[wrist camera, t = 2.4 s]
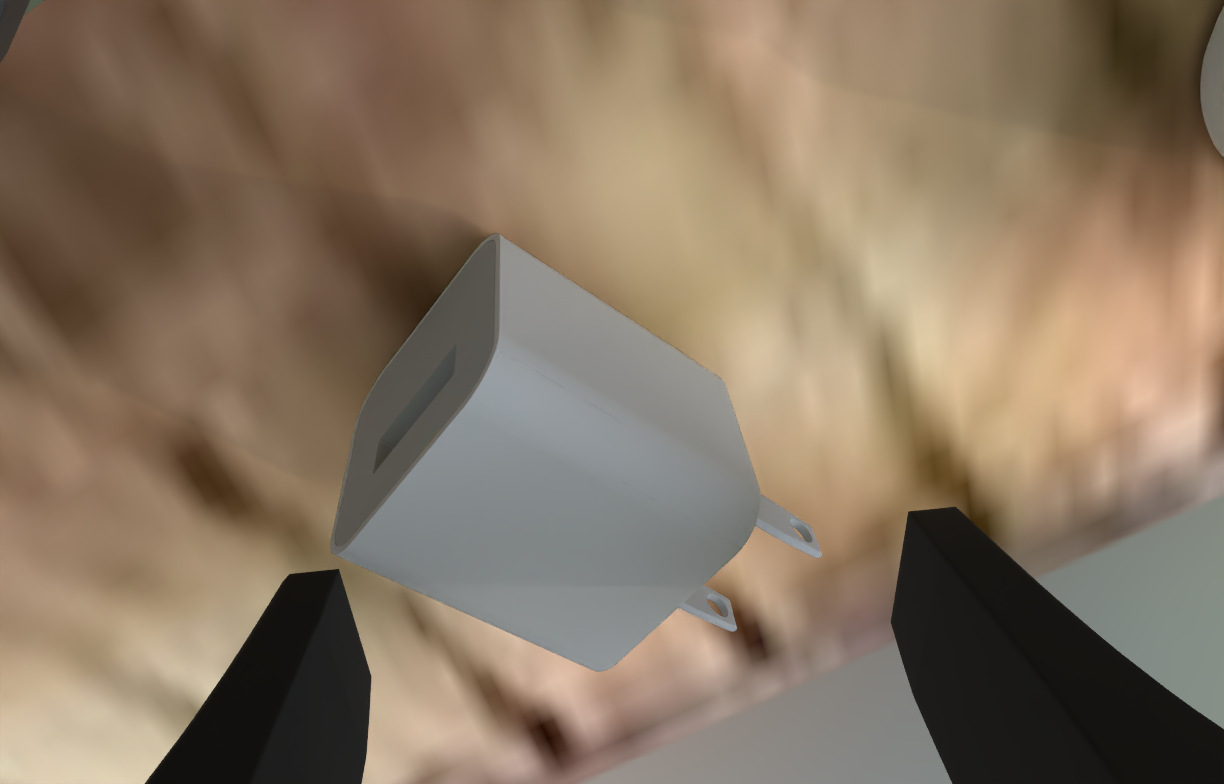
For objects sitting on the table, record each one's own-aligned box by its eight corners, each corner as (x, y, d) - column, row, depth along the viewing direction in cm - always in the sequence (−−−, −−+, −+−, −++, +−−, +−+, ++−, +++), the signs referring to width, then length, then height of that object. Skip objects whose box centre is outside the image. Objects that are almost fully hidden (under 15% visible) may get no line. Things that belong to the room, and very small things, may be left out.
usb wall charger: (500, 217, 14) (499, 365, 11) (825, 430, 17) (900, 597, 14) (360, 399, 16) (323, 575, 13) (678, 567, 19) (715, 747, 16)
